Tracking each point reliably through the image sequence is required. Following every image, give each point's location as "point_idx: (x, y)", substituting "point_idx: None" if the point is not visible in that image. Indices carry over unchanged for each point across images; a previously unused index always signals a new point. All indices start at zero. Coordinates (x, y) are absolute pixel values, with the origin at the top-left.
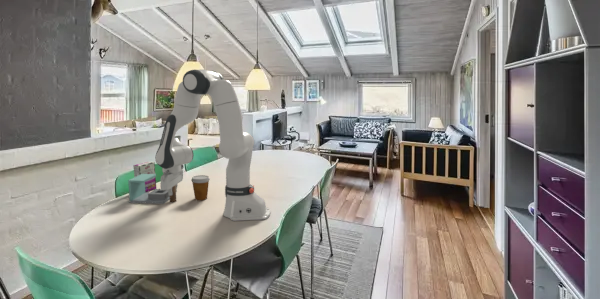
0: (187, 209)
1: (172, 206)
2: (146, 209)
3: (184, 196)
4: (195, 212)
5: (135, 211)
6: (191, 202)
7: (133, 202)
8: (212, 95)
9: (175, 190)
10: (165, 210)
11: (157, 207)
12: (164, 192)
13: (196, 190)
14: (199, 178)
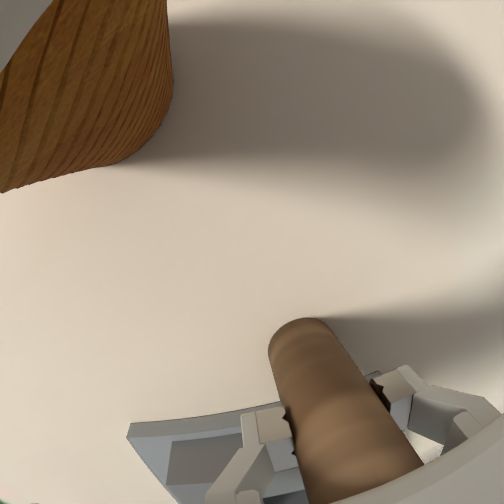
0: (453, 77)
1: (434, 252)
2: (475, 374)
3: (107, 333)
4: (463, 11)
5: (489, 392)
6: (278, 116)
7: None
8: None
9: (347, 408)
10: (498, 246)
11: (453, 347)
12: (298, 484)
13: (164, 27)
14: None
